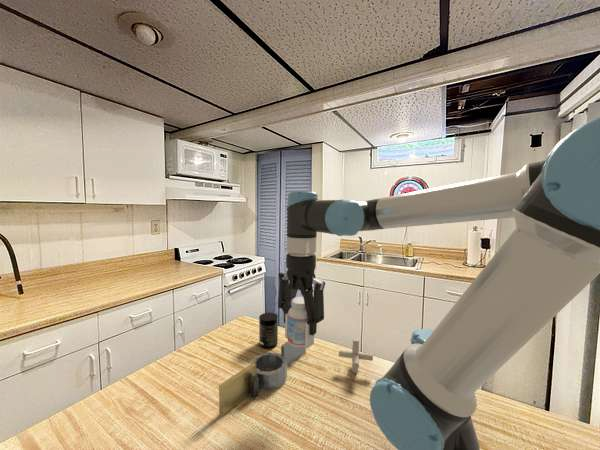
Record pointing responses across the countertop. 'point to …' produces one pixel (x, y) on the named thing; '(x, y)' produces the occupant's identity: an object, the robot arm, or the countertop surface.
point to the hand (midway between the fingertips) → (299, 340)
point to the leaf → (235, 388)
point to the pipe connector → (355, 355)
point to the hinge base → (273, 362)
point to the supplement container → (268, 330)
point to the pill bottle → (297, 322)
